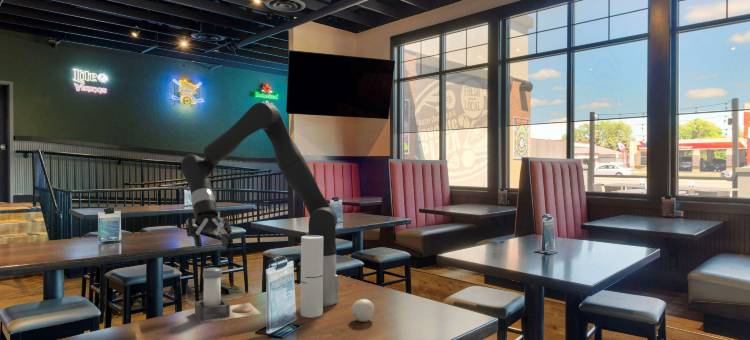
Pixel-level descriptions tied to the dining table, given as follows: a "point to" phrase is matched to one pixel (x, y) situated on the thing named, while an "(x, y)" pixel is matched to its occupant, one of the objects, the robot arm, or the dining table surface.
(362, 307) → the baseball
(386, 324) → the dining table surface
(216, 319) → the socket board
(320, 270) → the cylindrical container
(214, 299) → the cylinder
